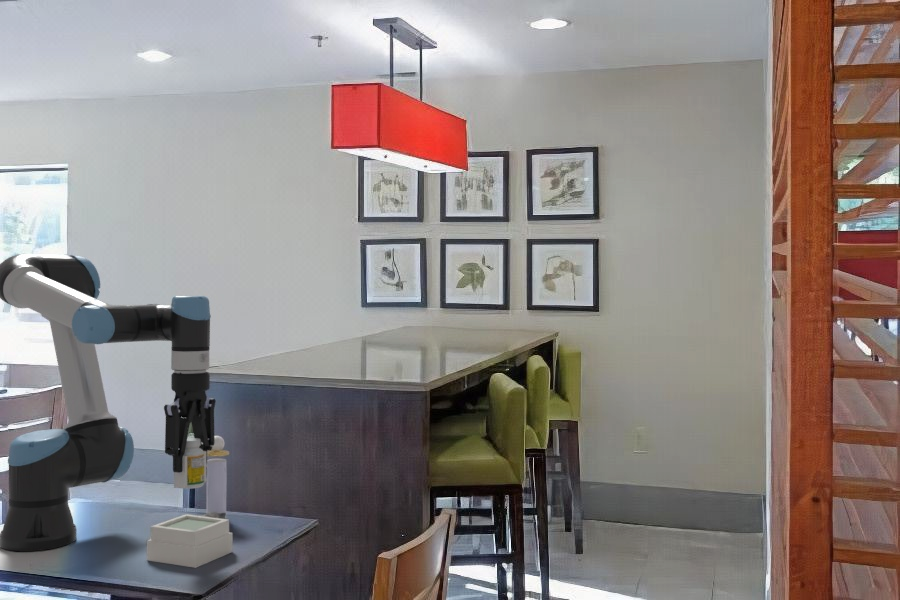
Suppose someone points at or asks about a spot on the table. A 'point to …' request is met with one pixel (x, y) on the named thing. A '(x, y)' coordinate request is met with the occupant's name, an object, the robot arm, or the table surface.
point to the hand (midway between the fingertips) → (190, 484)
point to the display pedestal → (189, 540)
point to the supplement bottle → (194, 463)
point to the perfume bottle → (216, 478)
